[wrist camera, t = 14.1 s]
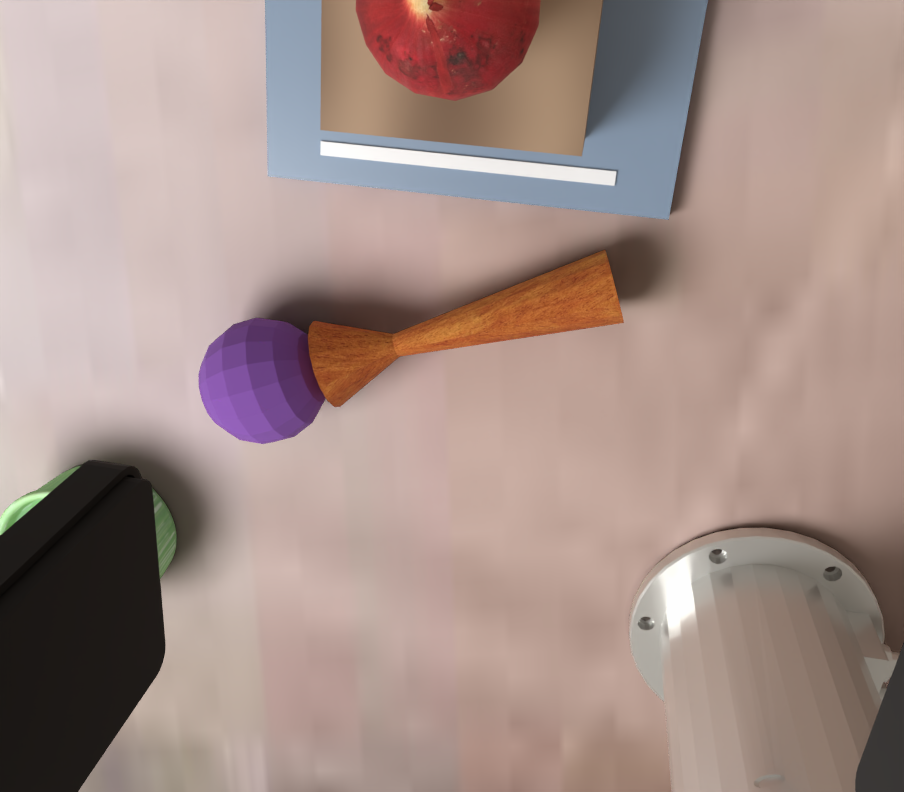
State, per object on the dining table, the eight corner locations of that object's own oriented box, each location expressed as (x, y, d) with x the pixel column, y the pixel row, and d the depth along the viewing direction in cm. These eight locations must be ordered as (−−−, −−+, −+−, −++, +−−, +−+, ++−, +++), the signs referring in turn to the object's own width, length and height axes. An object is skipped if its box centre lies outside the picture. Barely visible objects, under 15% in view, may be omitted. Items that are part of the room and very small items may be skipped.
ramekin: (26, 448, 49) (-25, 487, 45) (175, 458, 48) (135, 498, 44) (58, 579, 53) (14, 625, 49) (197, 592, 51) (163, 640, 47)
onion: (566, 62, 31) (553, 77, 23) (415, 109, 32) (359, 138, 25) (523, -118, 29) (494, -161, 21) (364, -58, 30) (287, -80, 23)
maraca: (637, 376, 37) (220, 480, 41) (619, 312, 42) (248, 410, 46) (608, 254, 34) (159, 378, 38) (592, 200, 39) (197, 315, 43)
